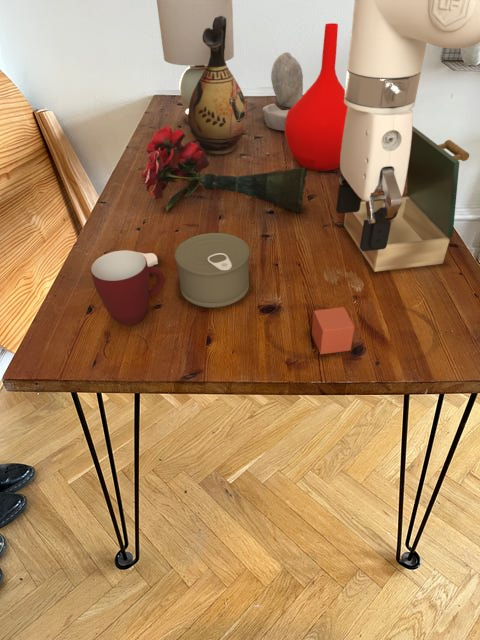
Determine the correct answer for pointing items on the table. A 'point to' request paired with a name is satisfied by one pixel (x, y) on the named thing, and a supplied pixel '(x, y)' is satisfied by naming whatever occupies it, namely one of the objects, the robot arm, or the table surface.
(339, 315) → the block
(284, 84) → the decorative stone
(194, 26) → the lamp
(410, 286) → the table surface
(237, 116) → the ceramic jug
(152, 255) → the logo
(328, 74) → the vase
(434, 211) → the cover
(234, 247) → the can
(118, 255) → the mug
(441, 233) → the cream open box
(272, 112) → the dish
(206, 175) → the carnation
